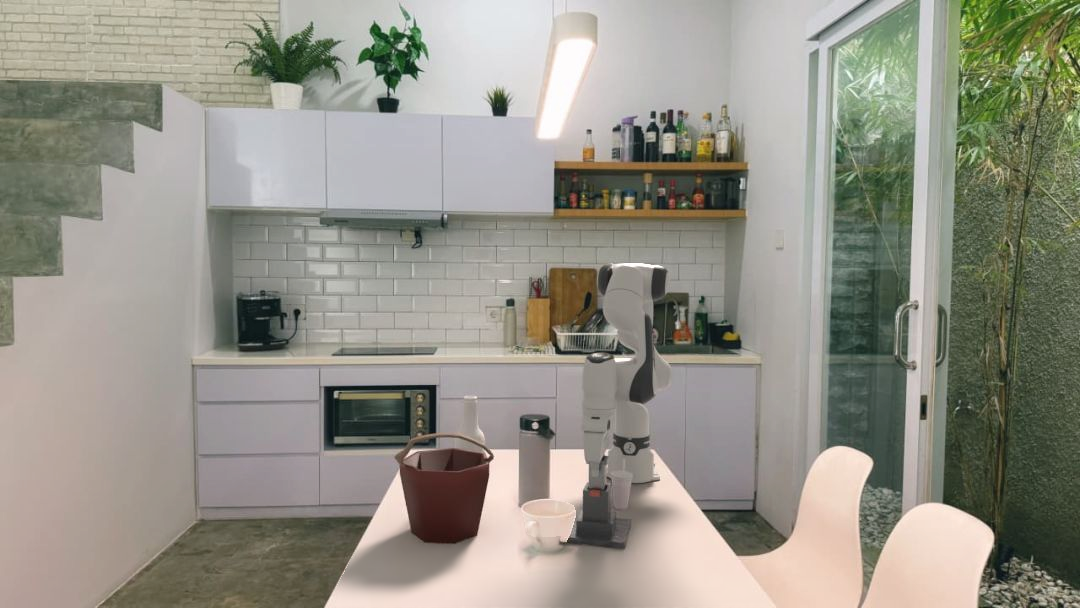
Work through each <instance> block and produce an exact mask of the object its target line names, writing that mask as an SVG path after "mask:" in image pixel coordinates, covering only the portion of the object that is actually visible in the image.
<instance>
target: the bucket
mask: <svg viewBox="0 0 1080 608" xmlns="http://www.w3.org/2000/svg"><path fill="white" fill-rule="evenodd" d="M440 438H453V439H455V438H460V439H463V440H466V441H469V442H471V443H474V444H475V445H477V446H479V447H481V448H483V449H484V450H485V453H482V452H476V451H470V450H464V449H458V448H455V447H449V448H439V449H438V448H437V449H428V450H427V449H425V450H417V451H415V452H414V453H412V454H410V455H409V456H408V454H409V452H410V451H411V449H412V448H413V447H414V445H415V444H416V443H420V442H423V441H427V440H431V439H432V440H433V439H440ZM486 453H487V454H488V455H489V456H488V457H487V454H486ZM406 456H407V457H406ZM494 457H495V456H494V453H493V452H492V450H491V449H490V448H489V447H488V446H487V445H486V443H485V444H483V443H481V442H479V441H477V440H475V439H473V438H470V437H468V436H465V435H462V434H457V433H456V432H454V433H453V432H438V433H430V434H428V433H427V434H424V435H418V436H417V437H412V438H410V439H409V441H408V443H407V444H406V446H405V447H404V449H403V450H401V451H399V452H397V453H396V454H395V456H394V459H395V460H396V462H397V463H398V464H399V477H400V480H401V481H400V482H401V486H402V490H403V491H402V492H403V496H404V501H405V507H406V511H407V516H408V522H409V528H410V531H411V534H412V535H414V537H417V538H418V539H419V540H421V541H422V542H423V543H425V544H447V545H448V544H450V545H456V544H459V543H461V542H464V541H466V540H469V539H471V538H473V537H477V536H478V533H479V529H480V523H481V521H482V520H481V518H482V514H483V509H484V503H485V499H486V494H487V489H488V483H489V479H490V463H491V462H492V461H493V460H494Z"/></svg>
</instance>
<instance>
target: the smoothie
mask: <svg viewBox="0 0 1080 608" xmlns="http://www.w3.org/2000/svg"><path fill="white" fill-rule="evenodd" d="M610 477H611V478H612V479H611V478H610V479H611V489H612V494H613V505H614V508H615V509H616V510H621V511H622V510H627V509H628V507H629V500H630V499H629V498H630V493H631V485H632V483H631V480H632V478H633V474H632V473H631V472H628V471H625V459H623V471H613V472H611V476H610Z"/></svg>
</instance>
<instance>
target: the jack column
mask: <svg viewBox="0 0 1080 608" xmlns="http://www.w3.org/2000/svg"><path fill="white" fill-rule="evenodd" d="M608 462H609V456H608V455H605V456H604V455H603V457H602V459H601V461H600V463H599V476H598V477H592V475H591V465H590V463H587V462H586V461H585V464H587V465H588V490H601V491H606V484H607V476H606V470H607V464H608Z"/></svg>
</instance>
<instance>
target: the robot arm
mask: <svg viewBox="0 0 1080 608" xmlns="http://www.w3.org/2000/svg"><path fill="white" fill-rule="evenodd" d="M596 276H597V277H596V285H597V288H598V292H599V293H600V294H601V296H604V300H603V305H602V313H603V316H604V319H605V320H606V322H607V323H608V324H609V325H610V326H611V327H613V328H614V329H616V330H617V335H616V336H617V339H618V341H619V343H620V344H621V345H623V346H624V347H625V348H628V349H630V350H632V351H634V357H615V356H614V355H613V354H611V353H608V352H594V353H590V354H588V355H586V357H585V359H584V363H583V368H582V377H581V380H582V381H581V390H582V395H583V396H582V398H583V399H582V402H581V410H580V411H581V418H580V419H581V421H580V422H581V423H580V430H581V431H583V435H582V436H583V439H582V440H583V452H584V460H585V463H586V462H587V463H590V465H591V475H592V477H598V476H599V463H600V461H601V459H602V457H603V455H604V456H606V455H605V454H606V451H607V449H608V447H609V446H610V443H611V441H610V440H611V432H612V428H613V427H614V432H613V435H612V447H611V448H610V449H609V450H608V452H607V456H609V462H608V464H607V470H606V478H609V479H611V480H612V478H611V477H610V476H611V472H613V471H623V459H625V471H628V472H631V473H632V474H633V478H632V480H631V484H643V483H644V484H645V483H647V482H648V483H649V482H651V481H659V480H661V477H660V476H661V475H660V474H659V472H658V470H657V468H656V463H655V453H653V451H652V449H650V445H651V435H650V434H649V430H650V427H649V426H650V413H649V410H648V409H647V407H646V406H644V405H645V404H646V403H649V402H650V401H651V400H652V399H654V398H655V397H656V395H657V392H661V391H664V390H667V389H668V388H670V386H671V384H672V382H673V380H674V379H673V378H674V377H673V375H674V373H673V370H672V367H671V364H670V363H669V362H668V361H667V360H666V359H664V358H663V357H662V356H661V355H660V354H659V352H658V350H657V349H656V346H655V343H654V341H655V339H654V329H653V328H654V327H653V326H654V303H656V302H658V301H659V300H663V298H665V297H666V296H667V294H668V292H669V290H670V287H671V278H670V274H669V271H668V270H667V268H666V267H665V266H661V265H658V264H654V265H653V264H652V265H651V264H646V263H640V262H638V263H637V262H634V263H630V262H629V263H614V262H611V263H605V264H603V265H602V266H601V267H600V268H599V271H598V274H597V275H596ZM642 404H643V405H642Z"/></svg>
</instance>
